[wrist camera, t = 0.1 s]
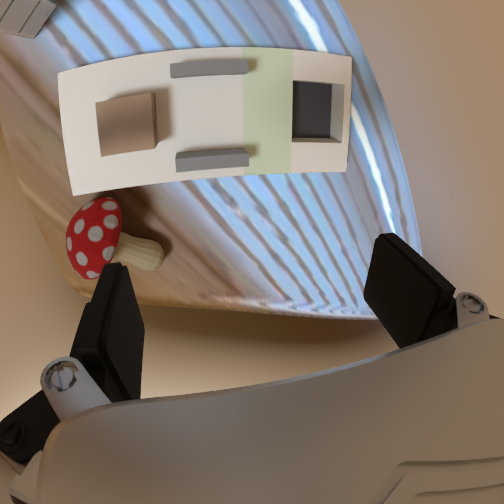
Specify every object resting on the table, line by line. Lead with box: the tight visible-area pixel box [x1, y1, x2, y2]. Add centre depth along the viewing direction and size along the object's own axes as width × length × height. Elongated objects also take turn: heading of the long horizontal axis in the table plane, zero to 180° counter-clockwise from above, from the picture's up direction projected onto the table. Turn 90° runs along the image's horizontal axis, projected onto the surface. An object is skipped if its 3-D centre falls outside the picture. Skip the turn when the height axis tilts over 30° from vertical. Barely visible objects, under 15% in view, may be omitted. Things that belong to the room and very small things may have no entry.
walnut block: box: [95, 93, 158, 157], centre depth 29 cm, size 6×6×4 cm
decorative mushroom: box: [66, 197, 164, 279], centre depth 38 cm, size 11×11×15 cm
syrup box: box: [0, 0, 57, 39], centre depth 15 cm, size 6×6×14 cm
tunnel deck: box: [58, 47, 352, 196], centre depth 32 cm, size 16×36×8 cm, turn 90°
